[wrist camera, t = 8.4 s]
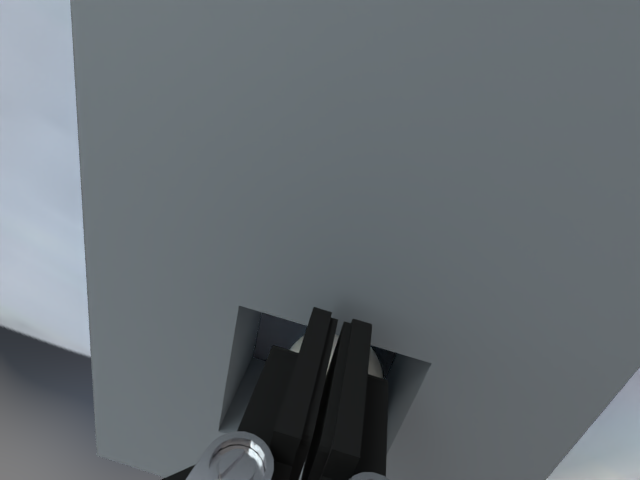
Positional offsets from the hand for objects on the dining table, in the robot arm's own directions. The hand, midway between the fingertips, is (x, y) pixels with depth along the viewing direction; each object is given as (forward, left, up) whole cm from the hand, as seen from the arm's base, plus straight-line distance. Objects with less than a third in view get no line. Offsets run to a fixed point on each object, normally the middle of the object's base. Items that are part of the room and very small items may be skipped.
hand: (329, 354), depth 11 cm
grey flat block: (-1, 0, -5) cm, 5 cm away
